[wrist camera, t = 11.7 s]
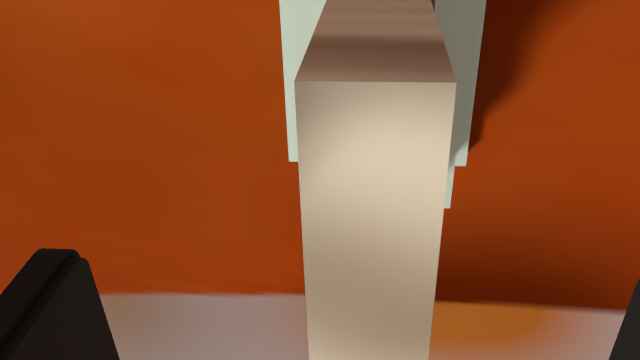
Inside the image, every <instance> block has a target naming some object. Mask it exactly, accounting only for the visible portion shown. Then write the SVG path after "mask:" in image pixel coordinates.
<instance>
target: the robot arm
mask: <svg viewBox="0 0 640 360" xmlns="http://www.w3.org/2000/svg"><path fill="white" fill-rule="evenodd" d="M0 360H119V356H118V353H117V350H116V347H115V344H114V340H113V338H112V334H111V331H110V328H109V325H108V322H107V319H106V315H105V312H104V309H103V306H102V303H101V300H100V297H99V294H98V291H97V288H96V284H95V281H94V278H93V275H92V272H91V269H90V266H89V263H88V261H87V260H86V259H85V258H80V256H79V254H78V252H77V251H75V250H72V249H45V248H42V249H39V250H37V251H36V252H35V253H34V254H33V255H32V257H31V258H30V259H29V260H28V262H27V263H26V264H25V265H24V267H23V268H22V269H21V270H20V271H19V273H18V274H17V275H16V276H15V278H14V279H13V280H12V281H11V283H10V284H9V285H8V286H7V287H6V289H5V290H4V291H3V292H2V294H1V295H0ZM609 360H640V279H639V280H638V282H637V284H636V287H635V290H634V292H633V295H632V298H631V301H630V303H629V306H628V309H627V311H626V314H625V317H624V320H623V322H622V325H621V328H620V330H619V333H618V336H617V339H616V341H615V344H614V347H613V349H612V352H611V355H610V358H609Z"/></svg>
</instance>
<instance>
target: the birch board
mask: <svg viewBox="0 0 640 360" xmlns="http://www.w3.org/2000/svg"><path fill="white" fill-rule="evenodd" d="M456 85H457V82H456V79H455V75H454V72H453V69H452V66H451V63H450V60H449V56H448V53H447V50H446V47H445V44H444V41H443V37H442V34H441V31H440V28H439V25H438V22H437V18H436V15H435V12H434V9H433V6H432V2H431V0H326V3H325V5H324V8H323V10H322V13H321V15H320V18H319V20H318V23H317V25H316V28H315V30H314V33H313V35H312V38H311V40H310V43H309V45H308V48H307V50H306V53H305V55H304V58H303V60H302V63H301V65H300V68H299V70H298V73H297V75H296V78H295V80H294V89H295V108H296V127H297V145H298V164H299V182H300V201H301V220H302V238H303V257H304V276H305V294H306V311H307V332H308V348H309V349H308V350H309V360H428V359H429V349H430V339H431V329H432V318H433V309H434V300H435V290H436V280H437V271H438V261H439V251H440V241H441V232H442V222H443V212H444V202H445V193H446V183H447V173H448V163H449V154H450V144H451V134H452V124H453V115H454V105H455V95H456Z"/></svg>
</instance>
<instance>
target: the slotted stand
mask: <svg viewBox="0 0 640 360" xmlns="http://www.w3.org/2000/svg"><path fill="white" fill-rule="evenodd" d="M486 1H487V0H431V2H432V6H433V9H434V12H435V15H436V18H437V22H438V25H439V28H440V31H441V34H442V37H443V41H444V44H445V47H446V50H447V53H448V56H449V60H450V63H451V66H452V69H453V72H454V75H455V79H456V82H457V85H456V95H455V105H454V115H453V124H452V134H451V144H450V154H449V163H448V173H447V183H446V193H445V202H444V208H450V203H451V194H452V185H453V176H454V167H455V166H466V161H467V153H468V145H469V137H470V129H471V121H472V113H473V105H474V97H475V89H476V81H477V73H478V65H479V57H480V49H481V41H482V33H483V25H484V17H485V9H486ZM279 2H280V19H281V35H282V52H283V69H284V85H285V102H286V119H287V136H288V152H289V161H294V162H298V145H297V127H296V108H295V89H294V80H295V78H296V75H297V73H298V70H299V68H300V65H301V63H302V60H303V58H304V55H305V53H306V50H307V48H308V45H309V43H310V40H311V38H312V35H313V33H314V30H315V28H316V25H317V23H318V20H319V18H320V15H321V13H322V10H323V8H324V5H325V3H326V0H279Z"/></svg>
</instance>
